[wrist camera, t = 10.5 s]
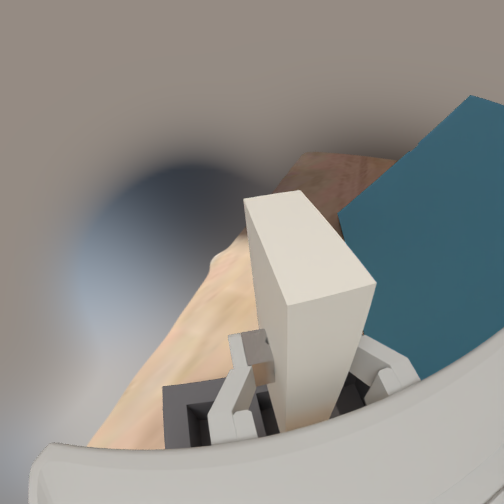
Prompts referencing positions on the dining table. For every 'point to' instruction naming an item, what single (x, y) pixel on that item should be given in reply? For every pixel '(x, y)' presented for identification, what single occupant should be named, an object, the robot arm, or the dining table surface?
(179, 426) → the stand
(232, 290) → the dining table surface
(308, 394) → the white rectangular block
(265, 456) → the robot arm
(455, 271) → the stacked coloured sheets
